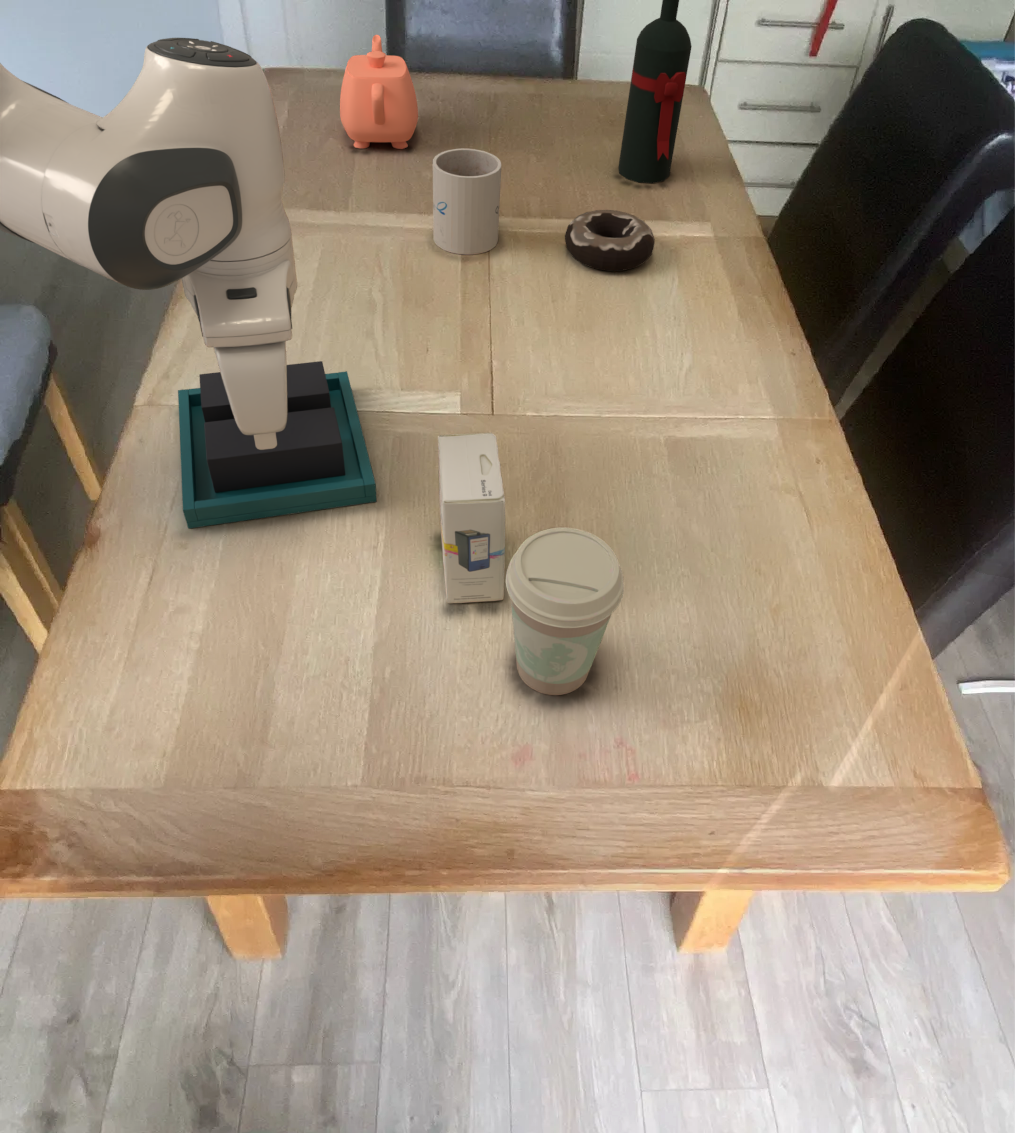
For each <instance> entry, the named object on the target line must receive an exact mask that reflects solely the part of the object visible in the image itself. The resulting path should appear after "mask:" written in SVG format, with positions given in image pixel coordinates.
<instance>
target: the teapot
mask: <svg viewBox="0 0 1015 1133" xmlns="http://www.w3.org/2000/svg"><path fill="white" fill-rule="evenodd" d="M382 46H383V44H382V37H381V36H380V35H379V34H374V35H373V36H372V38H371V51H369V52H367V53H366V54H355V55H352V56H351V57H350V58H349V59H348V61H347V63H346V67H345V70H344V74H343V77H342V82H341V88H340V97H339V116H340V121H341V124H342V126H343V129H344V130H345V132H346V135H347V136H348V137H349V139H350V140H352V141H354V142H353V147H354V148H356V149H366V148H367V149H368V148H369V147H370V143H391V147H393V148H394V149H400V150H403V149H405V148H408V146H409V145H408V143H407V141H409V140H411V139H412V137H413V135H414V133H415V130H416V127H417V125H418V122H419V107H418V99H417V95H416V90H415V86H414V83H413V80H412V77H411V74H410V71H409V68H408V65H407V63H406V61H405V60H404V59H403V57H402V56H399V55H389V54H388V55H387V54H386V52H384V51H383V47H382Z"/></svg>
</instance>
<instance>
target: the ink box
mask: <svg viewBox="0 0 1015 1133" xmlns="http://www.w3.org/2000/svg"><path fill="white" fill-rule="evenodd" d="M497 441H498V439H497V436H496V434H494V433H493V432H483V433H482V432H477V433H476V432H475V433H453V434H439V435H437V445H438V448H437V450H438V452H437V453H438V454H437V455H438V457H437V459H438V462H437V463H438V495H439V496H438V497H439V499H438V500H439V519H440V520H439V522H440V534H441V550H442V551H441V552H442V564H443V574H444V589H445V598H446V600H445V602H446V603H447V604H462V603H479V602H481V603H482V602H496V601H503V600H504V597H505V596H504V595H505V561H506V560H505V559H506V558H505V557H506V554H505V553H506V499H505V490H504V484H503V483H504V482H503V477H502V471H501V461H500V457H499V446H498V442H497Z"/></svg>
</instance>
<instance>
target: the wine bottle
mask: <svg viewBox="0 0 1015 1133" xmlns="http://www.w3.org/2000/svg"><path fill="white" fill-rule="evenodd" d="M679 4H680V0H661V7H660V13H659V17H658V18H655V19H653V20H651V22H649V23H648V24H646V25H645V26H644V27H643V28H642V29H641V31H640V32H639V34H638V36H637V38H636V44H635V50H634V57H633V63H632V71H631V78H630V85H629V92H628V98H627V105H626V111H625V112H626V113H625V120H624V126H623V132H622V140H621V147H620V153H619V160H618V167H617V168H618V174H619V175H621V176H622V177H623V178H625V179H626V180H629V181H632V182H636V183H640V184H657V183H662V182H665V181H666V180H667V179H668V178H669V177H670V173H671V169H672V162H673V156H674V151H675V146H676V140H677V134H678V128H679V122H680V116H681V111H682V105H683V99H684V92H685V86H686V81H687V75H688V70H689V64H690V58H691V53H692V41H691V37H690V34H689V32H688V30H687V28H686V27H685V25H684V24H683V23H682V22H681V21H680V20H678V19H677V16H678V11H679V6H680V5H679Z"/></svg>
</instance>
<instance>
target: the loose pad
mask: <svg viewBox="0 0 1015 1133" xmlns="http://www.w3.org/2000/svg"><path fill="white" fill-rule="evenodd" d="M204 428H205V443H206V457H207V463H208V467H209V471H210V475H211V479H212V483H213V487H214V491H215V493H218V492H226V491H233V490H240V489H248V488H255V487H263V486H270V485H277V484H285V483H292V482H299V481H307V480H314V479H322V478H329V477H336V476H344V475H345V466H344V456H343V447H342V440H341V436H340V432H339V427H338V423H337V418H336V414H335V409H334V407H331V408H323V409H314V410H306V411H298V412H289V413H287V423H286V427H285V429H284V430H283V431H280V432H276V439H277V446H276V447H275V448H273V449H264V450H260V449H257V448H256V445H255V440H254V435H244V434H243V433H242V432H241V431H240V429H239V428H238V426H237V423H236V421H235V419H230V420H222V421H214V422H205V423H204Z"/></svg>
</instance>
